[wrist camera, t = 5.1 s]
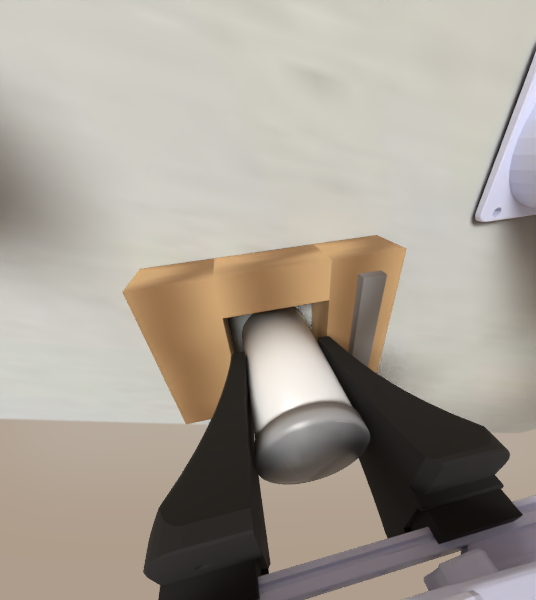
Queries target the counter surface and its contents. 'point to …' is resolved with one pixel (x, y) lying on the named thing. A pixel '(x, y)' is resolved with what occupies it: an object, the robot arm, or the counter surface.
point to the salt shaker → (297, 402)
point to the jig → (261, 307)
